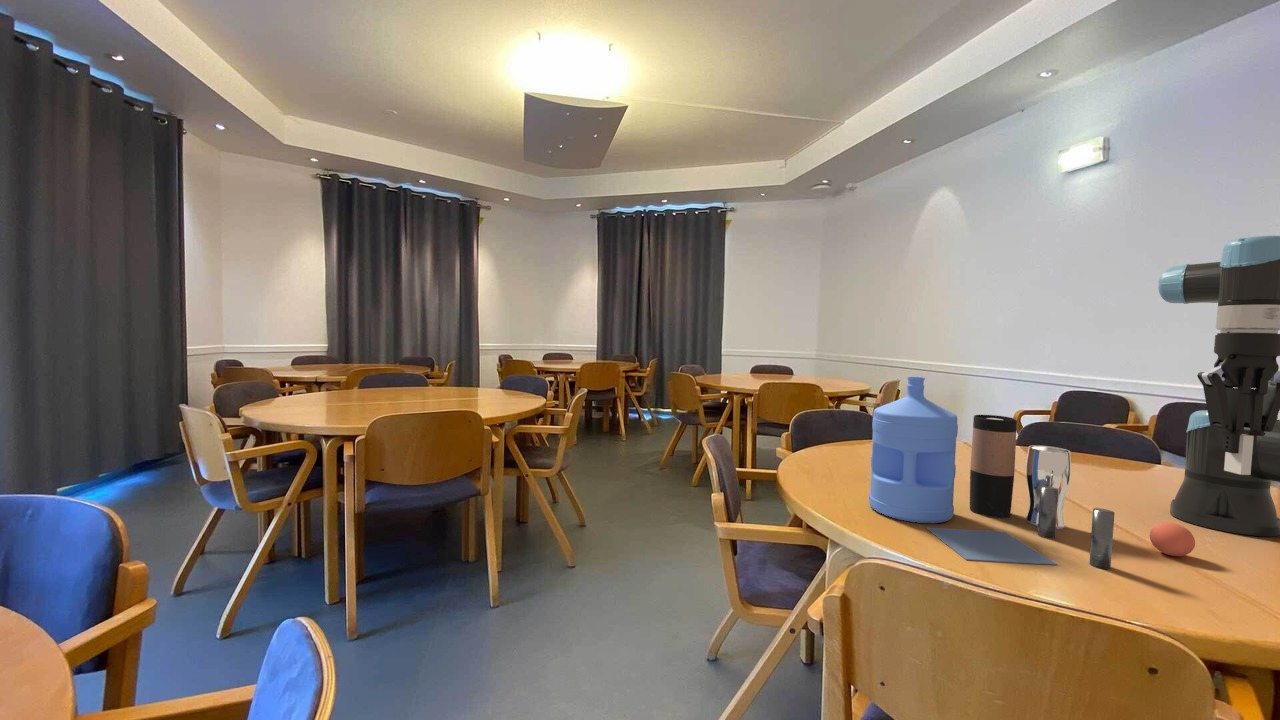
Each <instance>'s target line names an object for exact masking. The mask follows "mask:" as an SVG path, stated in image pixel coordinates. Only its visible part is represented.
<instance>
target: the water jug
mask: <svg viewBox="0 0 1280 720" xmlns="http://www.w3.org/2000/svg"><path fill="white" fill-rule="evenodd" d="M906 379H907V385H906V388H907V391H906V395H905V396H904V397H902V398H900V399H897V400H894V401H892V402H888V403H886V404H883V405H880V406H878V407H876V408H875V409H874V410H873V416H872V425H871V426H872V428H871V429H872V441H871V442H872V445H871V446H872V447H871V455H870V456H871V457H870V487H869V489H870V490H869V493H868V494H869V495H868V503H869V506H870V507H871V509H873V510H874V511H875V510H876V512H877V513H879V514H881V513H882V514H881V515H883V514H884V515H883V516H886V517H888V516H889V517H888V518H891V517H892V519H894V520H895V519H896V520H900V521H903V520H904V522H909V521H910V522H909V523H915V522H917V523H918V524H941V523H945V522H948V521H950V520H951V519H952V518H953V516H954V512H955V507H954V491H955V478H956V469H957V468H956V453H957V452H956V451H957V450H956V449H957V437H958V433H959V432H958V430H959V429H958V428H959V424H958V416H957V415H956V414H955V413H953V412H952V411H949V410H948V409H946V408H945V407H942V406H940V405H938V404H937V403H935V402H933V401H931V400H929V399H927V398H926V397H925V395H924V392H925V391H924V390H925V384H924V382H925V379H926V378H925V377H919V376H907V378H906Z"/></svg>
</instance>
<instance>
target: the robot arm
mask: <svg viewBox="0 0 1280 720" xmlns="http://www.w3.org/2000/svg"><path fill="white" fill-rule="evenodd" d="M1221 254H1222V255H1221V259H1220V261H1215V262H1205V263H1187V264H1183V265H1176V266H1175V265H1174V266H1171V267H1169V268H1166V269H1165V270H1164V271H1163V272H1162V274H1161V275H1160V277H1159V279H1158V287H1157V289H1158V294H1159V296H1160V297H1161V299H1163V300H1164V301H1165V302H1167V303H1169V304H1183V305H1185V304H1203V303H1205V304H1207V303H1209V304H1210V303H1211V304H1217V311H1216V321H1215V329H1216V330H1219V331H1220V332H1218V333H1217V334H1215V335H1214V345H1213V352H1214V354H1216V355H1217V359H1216V361H1215V362H1214V364H1213V368H1212V369H1210V370H1208V371H1206V372H1205V371H1204V372H1203V371H1199V372H1198V373H1197V378H1198V380H1199V382H1200V383H1201V385H1202V388H1203V395H1204V398H1205V399H1204V400H1205V405H1206V410H1205V409H1204V410H1202V409H1201V410H1197V411H1194V412H1192V413H1191V414H1190V416H1189V418H1188V419H1189V420H1188V423H1187V429H1186V433H1187V434H1186V446H1185V449H1186V450H1185V464H1184V476H1183V477H1184V478H1183V480H1182V483H1181V484H1180V486H1179V489H1178V490H1177V493H1176V495H1175V497H1174V499H1172V500H1171V502H1170V504H1169V506H1170V508H1169V514H1170V515H1171V516H1173V518H1176V519H1178V520H1181V521H1184V522H1187V523H1190V524H1193V525H1197V526H1201V527H1203V528H1207V529H1212V530H1216V531H1217V530H1218V531H1221V532H1227V533H1232V534H1233V533H1234V534H1239V535H1246V536H1254V537H1256V536H1257V537H1277V536H1280V518H1279V517H1278V513H1277V509H1276V505H1275V503H1274V499H1273V497H1272V493H1271V484H1272V482H1275V483H1276V482H1277V483H1280V419H1279V413H1280V370H1279V369H1280V366H1279V364H1278V361H1277V358H1278V357H1280V333H1279V331H1280V235H1259V236H1250V237H1249V236H1248V237H1242V238H1241V237H1240V238H1236V239H1232V240H1230V241H1229V240H1228V242H1226V243H1225V244H1224V245H1223V248H1222V253H1221Z"/></svg>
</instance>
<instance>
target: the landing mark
mask: <svg viewBox="0 0 1280 720" xmlns="http://www.w3.org/2000/svg"><path fill="white" fill-rule="evenodd" d="M926 530H928V531H929V530H930V531H931V532H932V533H931V532H930V531H929V532H930V533H931V534H932V535H934V536H935V535H936V536H937V539H939V540H940V539H941V540H942V541H941V542H943V543H944V544H945V545H946V544H947V545H946V546H947V547H949V548H950V549H951V548H952V549H951V550H953V551H954V552H955V553H957V554H958V555H959V556H960V557H962V558H963V560H965V561H972V562H973V561H974V562H975V561H976V562H992V563H995V562H996V563H1009V564H1014V563H1015V564H1032V565H1045V566H1046V565H1049V566H1050V565H1052V566H1058V563H1057V562H1055V561H1053V560H1052V559H1050V558H1049V557H1046V556H1045V555H1043V554H1042V553H1040V552H1039V551H1037V550H1035V549H1034V548H1032V547H1030V546H1028V545H1027V544H1025V542H1022V541H1020V540H1018V538H1016V537H1014V536H1012V535H1011V534H1009V533H1008V532H1006V531H1003V530H1002V531H1001V530H1000V531H999V530H979V529H977V530H976V529H964V528H963V529H962V528H961V529H959V528H958V529H956V528H939V527H926ZM936 536H935V537H936Z"/></svg>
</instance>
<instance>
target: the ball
mask: <svg viewBox="0 0 1280 720" xmlns="http://www.w3.org/2000/svg"><path fill="white" fill-rule="evenodd" d="M1149 540H1150V542H1151V544H1152V546H1153V547H1154V548H1155V549H1157V550H1158V551H1159V552H1161V553H1162V554H1165V555H1167V556H1170V555H1171V556H1172V557H1183V556H1186V555H1189V554H1190V553H1192V552H1193V551H1194V549H1195V546H1196V539H1195V537H1194V535H1193V534H1192V532H1191V531H1190V530H1189V529H1188V528H1186V527H1185V526H1183V525H1181V524H1179V523H1175V522H1166V521H1165V522H1160V523H1157V524H1155V525H1154V526H1152V528H1151V529H1150V532H1149Z"/></svg>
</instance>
